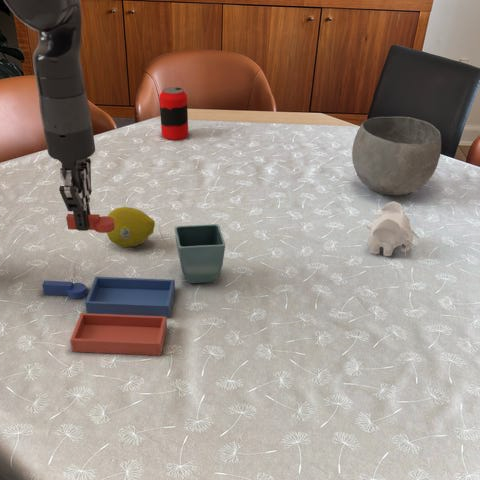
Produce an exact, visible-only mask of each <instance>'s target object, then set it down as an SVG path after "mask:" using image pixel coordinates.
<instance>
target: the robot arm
mask: <svg viewBox="0 0 480 480" xmlns="http://www.w3.org/2000/svg"><path fill="white" fill-rule="evenodd" d="M3 2H4V4H5V5H6V6H7V7H8V9H9V10H10V11H11V13H12V14H13V15H14V17H16V18H17V19H18V20H19V21H20V22H21V23H23V24H24V25H25V26H26V27H28V28H30V29H31V30H33V31H36V32H38V44H37V46H36V48H35V50H34V52H33V54H32V66H33V72H34V78H35V82H36V83H35V84H36V89H37V93H38V105H39V106H38V107H39V113H40V119H41V123H42V129H43V133H44V134H43V136H44V140H45V145H46V151H47V154H48V156H49V157H50V158H52V159H53V160H57V161H58V162H60V163H61V167H60V168H59V174H60V179H61V181H62V183H63V185H59V188H58V191H59V194H60V196H61V198H62V201H63V202H64V203H63V204H64V205H65V207H66V209H67V211H68V212H72V214H74V220H75V225H76V229H77V230H76V231H80V232H81V231H83V232H87V231H89V230H88V229H89V221H88V214H92V212H91V208H90V202H91V197H90V196H91V195H92V191H93V190H92V165H91V164H92V160H91V158H90V157H92V156H93V155H94V154H95V152H96V145H95V137H94V136H95V135H94V129H93V122H92V114H91V109H90V103H89V99H88V96H87V91H86V84H85V78H84V71H83V65H82V57H81V55H82V54H81V50H82V23H83V22H82V21H83V19H82V16H83V15H82V2H81V0H3Z"/></svg>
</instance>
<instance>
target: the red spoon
mask: <svg viewBox="0 0 480 480" xmlns="http://www.w3.org/2000/svg"><path fill="white" fill-rule="evenodd" d="M65 220H66V225H67V230H70V231H71V230H72V231H73V230H76V231H78V230H77V229H76V225H75V220H74V214H73V213H68V214H66V217H65ZM88 221H89V229H88V230H87V231H95V232H97V233H100V234H107V232H111V231H113V230H114V229H115V224H114V219H113V218H111V217H108V215H107V216H105V215H103V216H100V214H98V213H97V214H94V213H91V214H88Z"/></svg>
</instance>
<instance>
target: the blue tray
mask: <svg viewBox="0 0 480 480" xmlns="http://www.w3.org/2000/svg"><path fill="white" fill-rule="evenodd" d="M175 293H176V280H175V279H163V278H143V277H142V278H140V277H139V278H138V277H117V276H116V277H114V276H94V280H93V282H92V284H91V287H90V289H89V292H88V293H87V296H86V299H85V301H84V305H85V311H86V313H91V314H115V315H140V316H165V317H166V318H170V316H171V312H172V307H173V303H174V298H175Z"/></svg>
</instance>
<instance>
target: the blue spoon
mask: <svg viewBox="0 0 480 480" xmlns="http://www.w3.org/2000/svg"><path fill="white" fill-rule="evenodd" d="M41 286H42V291H43V295H46V296H67V297H68V298H70V299H73V300H80V299H83V298H85V297H87V296H88V289H87V285H86V284H85V283H83V282H74V281H65V280H64V281H63V280H62V281H61V280H43V282H42V285H41Z"/></svg>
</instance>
